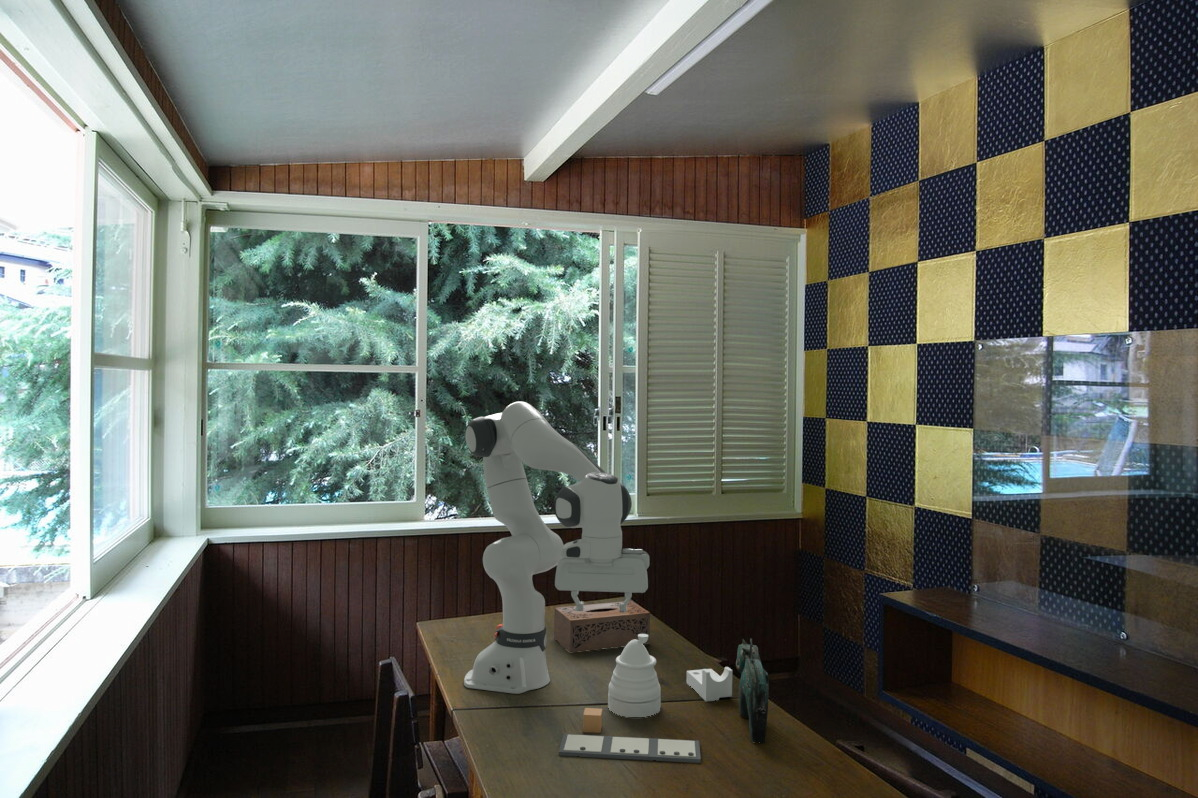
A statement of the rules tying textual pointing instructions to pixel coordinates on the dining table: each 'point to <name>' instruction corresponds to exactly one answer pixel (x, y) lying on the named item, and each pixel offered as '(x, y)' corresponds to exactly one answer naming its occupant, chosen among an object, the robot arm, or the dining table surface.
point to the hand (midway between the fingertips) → (601, 611)
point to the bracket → (710, 683)
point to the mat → (630, 748)
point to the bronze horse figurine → (753, 690)
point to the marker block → (592, 720)
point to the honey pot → (635, 682)
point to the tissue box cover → (600, 626)
